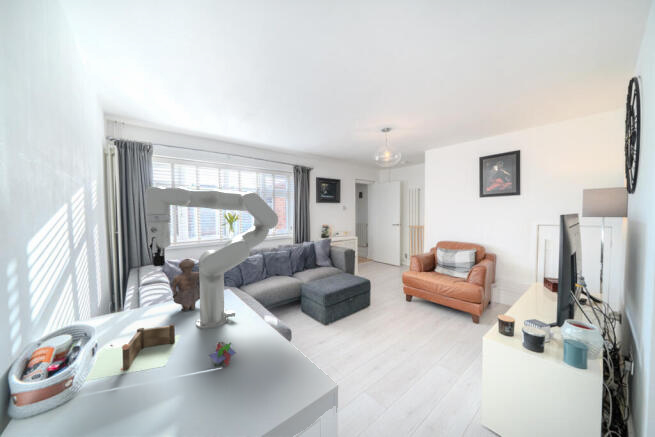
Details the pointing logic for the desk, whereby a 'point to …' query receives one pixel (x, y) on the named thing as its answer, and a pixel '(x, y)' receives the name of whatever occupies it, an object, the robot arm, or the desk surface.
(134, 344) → the panel
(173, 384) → the desk surface
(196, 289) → the clay figurine
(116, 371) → the card
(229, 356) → the geometric puzzle
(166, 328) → the fence fixed section
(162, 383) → the desk surface
